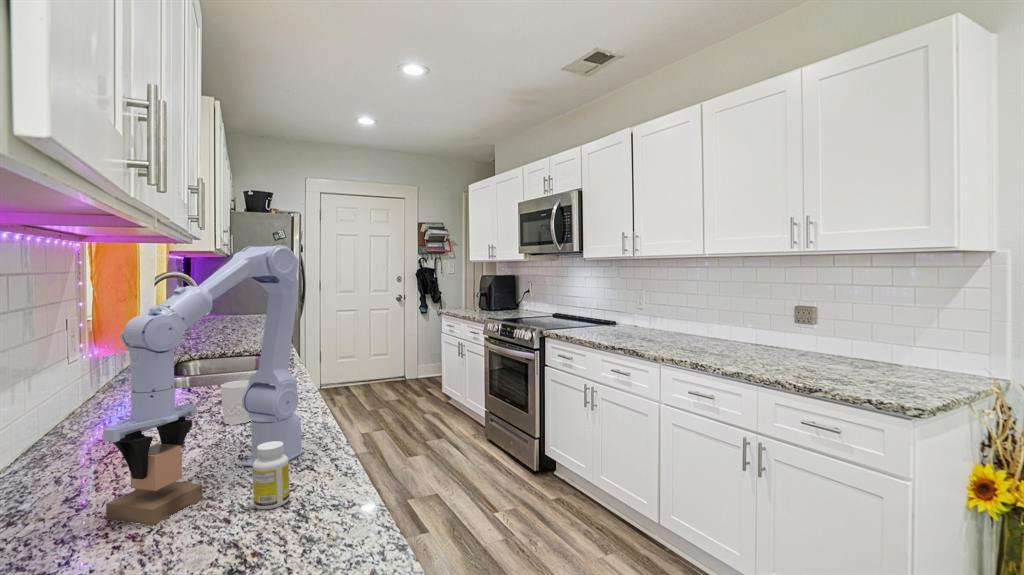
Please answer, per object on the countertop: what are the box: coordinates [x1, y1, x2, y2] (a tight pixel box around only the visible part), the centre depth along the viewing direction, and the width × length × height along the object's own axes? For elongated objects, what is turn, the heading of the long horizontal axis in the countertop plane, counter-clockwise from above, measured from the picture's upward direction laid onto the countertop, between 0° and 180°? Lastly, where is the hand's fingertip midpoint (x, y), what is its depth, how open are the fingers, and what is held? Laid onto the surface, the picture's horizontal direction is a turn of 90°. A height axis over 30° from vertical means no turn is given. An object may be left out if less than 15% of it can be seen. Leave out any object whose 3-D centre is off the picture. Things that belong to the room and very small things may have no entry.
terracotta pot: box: [129, 443, 183, 491], centre depth 80 cm, size 5×5×6 cm
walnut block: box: [105, 481, 203, 527], centre depth 80 cm, size 9×9×3 cm
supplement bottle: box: [252, 441, 290, 510], centre depth 82 cm, size 5×5×10 cm
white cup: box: [220, 379, 251, 425], centre depth 127 cm, size 8×8×10 cm
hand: (155, 471), depth 80 cm, fingers closed on terracotta pot, 5 cm apart
